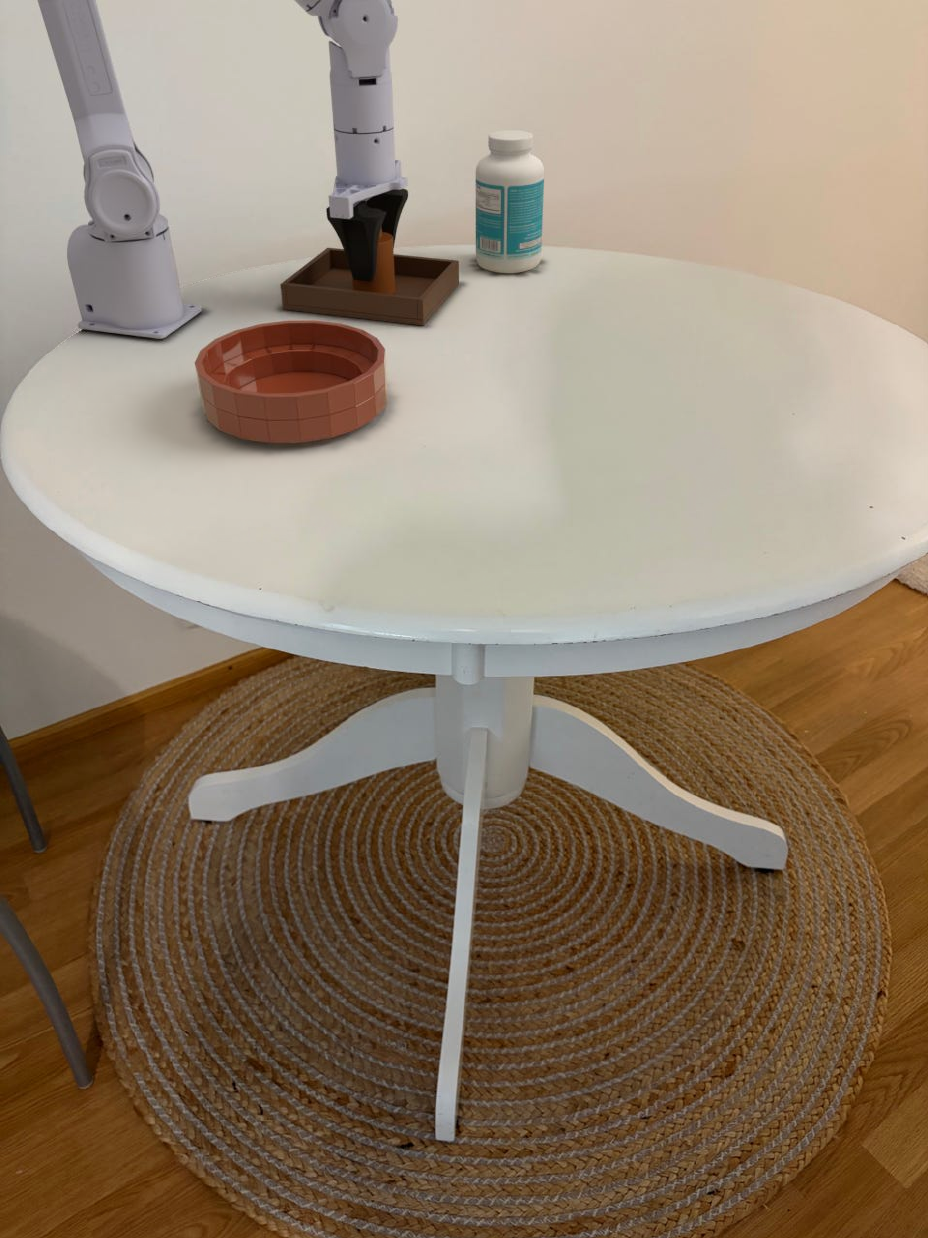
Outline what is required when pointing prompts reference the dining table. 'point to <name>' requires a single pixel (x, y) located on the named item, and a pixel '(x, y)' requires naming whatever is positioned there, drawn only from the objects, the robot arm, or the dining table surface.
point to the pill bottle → (509, 204)
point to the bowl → (292, 381)
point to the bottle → (381, 267)
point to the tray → (332, 293)
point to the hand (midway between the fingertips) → (372, 271)
